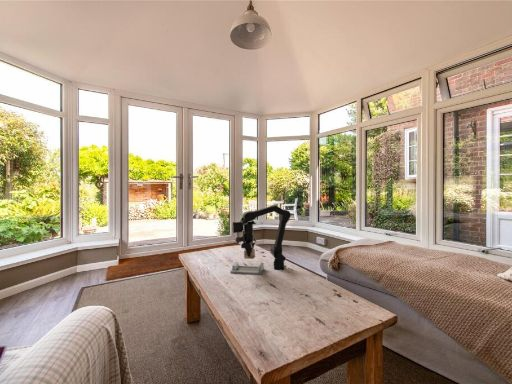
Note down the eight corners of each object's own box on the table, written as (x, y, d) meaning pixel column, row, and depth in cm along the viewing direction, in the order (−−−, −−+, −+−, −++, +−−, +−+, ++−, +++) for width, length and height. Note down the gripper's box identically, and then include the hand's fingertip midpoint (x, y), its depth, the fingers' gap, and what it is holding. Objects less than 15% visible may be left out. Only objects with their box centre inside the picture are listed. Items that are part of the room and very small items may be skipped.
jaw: (238, 266, 162) (238, 262, 162) (235, 270, 155) (235, 265, 155) (235, 266, 163) (235, 261, 162) (232, 270, 155) (232, 265, 155)
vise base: (263, 268, 160) (263, 262, 160) (261, 274, 150) (260, 267, 150) (234, 267, 164) (234, 261, 164) (230, 273, 154) (230, 266, 154)
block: (254, 256, 157) (254, 248, 157) (253, 258, 152) (253, 250, 152) (245, 256, 158) (245, 248, 158) (244, 258, 154) (244, 250, 153)
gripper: (240, 228, 165) (241, 251, 166) (232, 234, 147) (233, 260, 147) (255, 228, 163) (257, 251, 164) (250, 234, 145) (251, 260, 145)
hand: (249, 255), depth 155 cm, fingers closed on block, 4 cm apart
